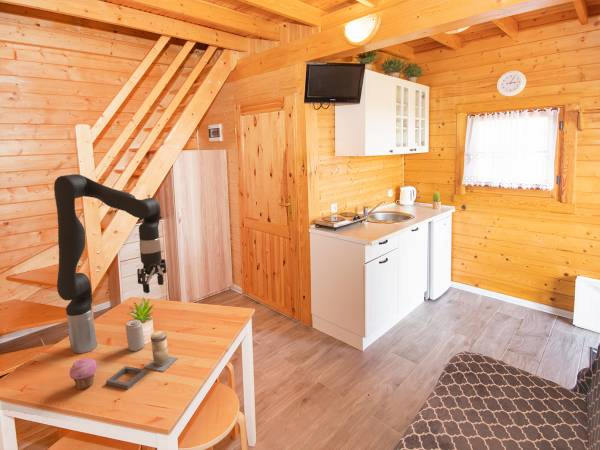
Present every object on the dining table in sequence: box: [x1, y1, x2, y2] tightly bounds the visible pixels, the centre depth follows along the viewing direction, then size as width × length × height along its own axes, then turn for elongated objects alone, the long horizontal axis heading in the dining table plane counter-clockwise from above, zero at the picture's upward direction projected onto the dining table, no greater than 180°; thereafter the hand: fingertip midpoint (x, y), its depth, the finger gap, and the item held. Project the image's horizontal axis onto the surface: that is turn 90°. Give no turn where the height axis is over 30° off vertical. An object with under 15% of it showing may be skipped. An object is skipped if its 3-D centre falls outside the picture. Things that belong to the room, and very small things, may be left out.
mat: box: [143, 355, 178, 373], centre depth 147 cm, size 9×9×1 cm
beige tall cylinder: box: [150, 331, 169, 366], centre depth 146 cm, size 6×6×12 cm
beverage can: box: [125, 319, 145, 352], centre depth 158 cm, size 6×6×12 cm
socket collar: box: [105, 365, 147, 390], centre depth 137 cm, size 10×10×2 cm
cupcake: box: [69, 358, 98, 390], centre depth 134 cm, size 9×9×10 cm
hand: (153, 288), depth 147 cm, fingers open, 8 cm apart
